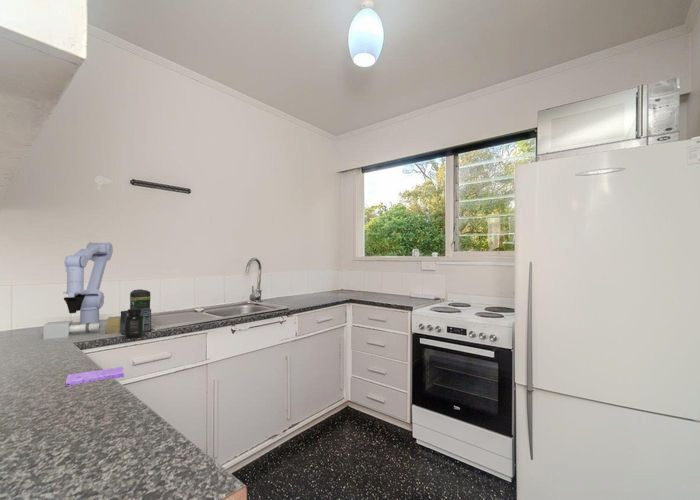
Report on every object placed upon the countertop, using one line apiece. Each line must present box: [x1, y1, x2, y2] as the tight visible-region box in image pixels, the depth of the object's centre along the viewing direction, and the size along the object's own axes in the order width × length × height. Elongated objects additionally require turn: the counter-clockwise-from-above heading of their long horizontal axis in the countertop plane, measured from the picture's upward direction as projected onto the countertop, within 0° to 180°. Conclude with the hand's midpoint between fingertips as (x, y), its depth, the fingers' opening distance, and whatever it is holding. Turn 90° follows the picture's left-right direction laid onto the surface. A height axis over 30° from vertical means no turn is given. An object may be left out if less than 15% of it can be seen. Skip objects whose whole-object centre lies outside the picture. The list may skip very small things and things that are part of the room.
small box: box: [120, 308, 152, 336], centre depth 146 cm, size 11×6×10 cm, turn 144°
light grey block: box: [42, 320, 74, 341], centre depth 138 cm, size 8×6×6 cm
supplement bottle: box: [124, 308, 145, 339], centre depth 138 cm, size 7×7×12 cm
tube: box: [69, 322, 101, 334], centre depth 141 cm, size 18×4×4 cm, turn 119°
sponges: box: [65, 366, 125, 387], centre depth 90 cm, size 7×13×2 cm, turn 126°
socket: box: [105, 315, 121, 335], centre depth 148 cm, size 5×7×6 cm
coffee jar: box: [129, 289, 151, 309], centre depth 159 cm, size 10×8×19 cm
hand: (74, 311), depth 144 cm, fingers open, 7 cm apart
